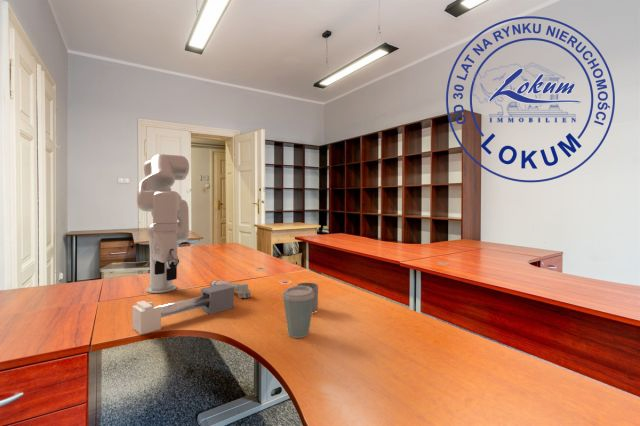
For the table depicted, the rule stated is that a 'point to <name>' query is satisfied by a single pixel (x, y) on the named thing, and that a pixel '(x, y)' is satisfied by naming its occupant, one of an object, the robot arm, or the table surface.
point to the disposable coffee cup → (298, 309)
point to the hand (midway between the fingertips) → (165, 276)
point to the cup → (315, 290)
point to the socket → (146, 317)
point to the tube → (184, 305)
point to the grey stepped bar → (235, 288)
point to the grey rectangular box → (218, 298)
